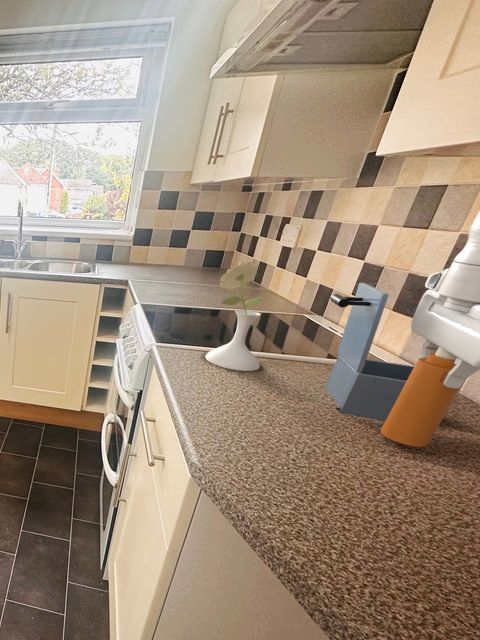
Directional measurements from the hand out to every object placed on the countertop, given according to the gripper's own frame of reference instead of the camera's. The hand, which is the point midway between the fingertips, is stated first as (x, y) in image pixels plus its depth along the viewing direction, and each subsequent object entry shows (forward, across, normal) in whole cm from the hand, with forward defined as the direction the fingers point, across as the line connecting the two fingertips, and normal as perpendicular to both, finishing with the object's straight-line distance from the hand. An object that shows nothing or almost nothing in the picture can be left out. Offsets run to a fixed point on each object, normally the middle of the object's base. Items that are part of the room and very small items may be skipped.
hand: (436, 377), depth 64 cm
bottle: (+11, 0, 0) cm, 11 cm away
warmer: (+13, +16, -2) cm, 21 cm away
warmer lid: (-3, +16, +6) cm, 17 cm away
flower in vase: (+13, +28, +23) cm, 39 cm away
